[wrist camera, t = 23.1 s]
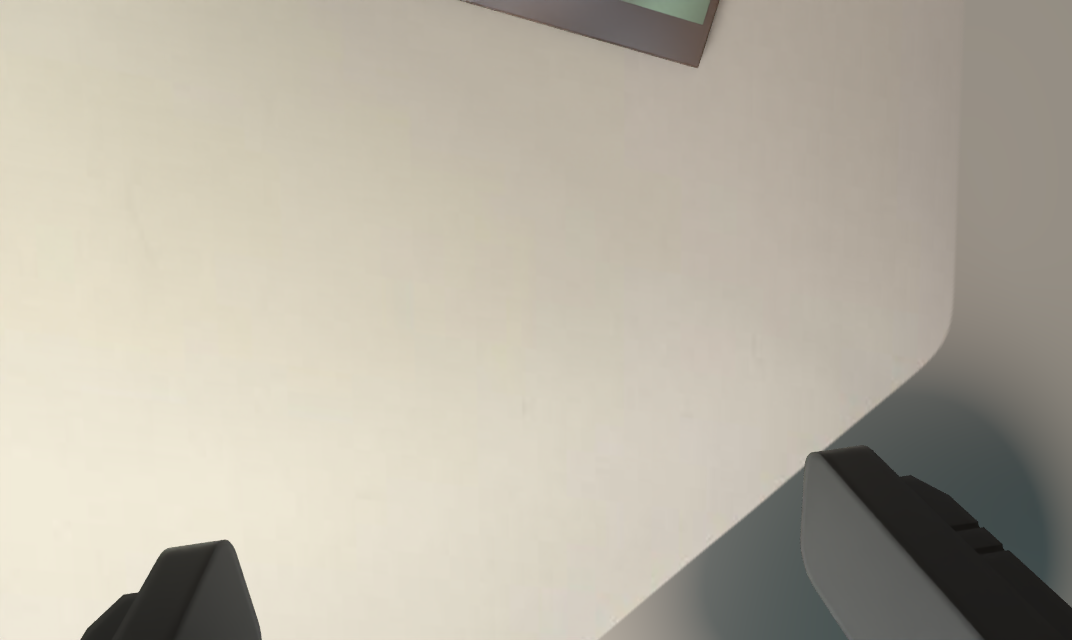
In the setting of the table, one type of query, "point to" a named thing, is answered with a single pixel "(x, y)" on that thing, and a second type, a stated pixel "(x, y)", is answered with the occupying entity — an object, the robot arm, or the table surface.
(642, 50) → the brown flat rectangular board
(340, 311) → the table surface
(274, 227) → the table surface
